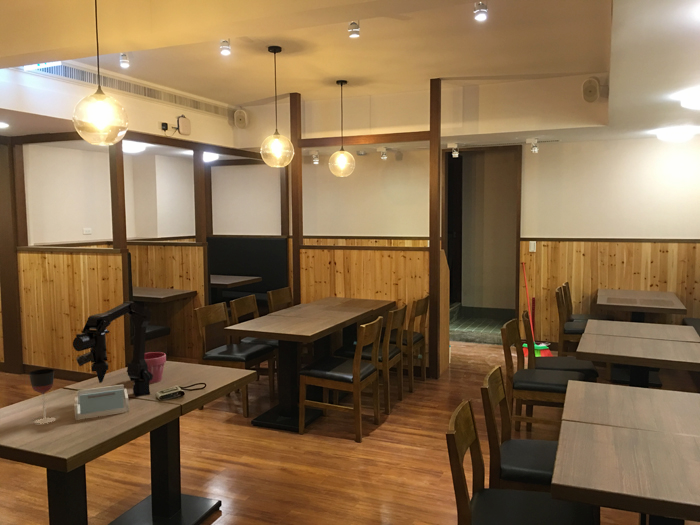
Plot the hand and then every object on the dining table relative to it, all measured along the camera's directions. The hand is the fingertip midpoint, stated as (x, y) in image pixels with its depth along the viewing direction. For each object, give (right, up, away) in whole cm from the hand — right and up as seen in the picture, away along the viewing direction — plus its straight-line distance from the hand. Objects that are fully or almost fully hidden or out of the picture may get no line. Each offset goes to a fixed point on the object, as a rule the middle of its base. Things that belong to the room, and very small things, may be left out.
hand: (100, 382), depth 233 cm
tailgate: (+3, -10, -5) cm, 12 cm away
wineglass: (-18, -13, -10) cm, 24 cm away
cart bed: (0, -12, +1) cm, 12 cm away
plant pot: (+6, -9, +42) cm, 44 cm away
